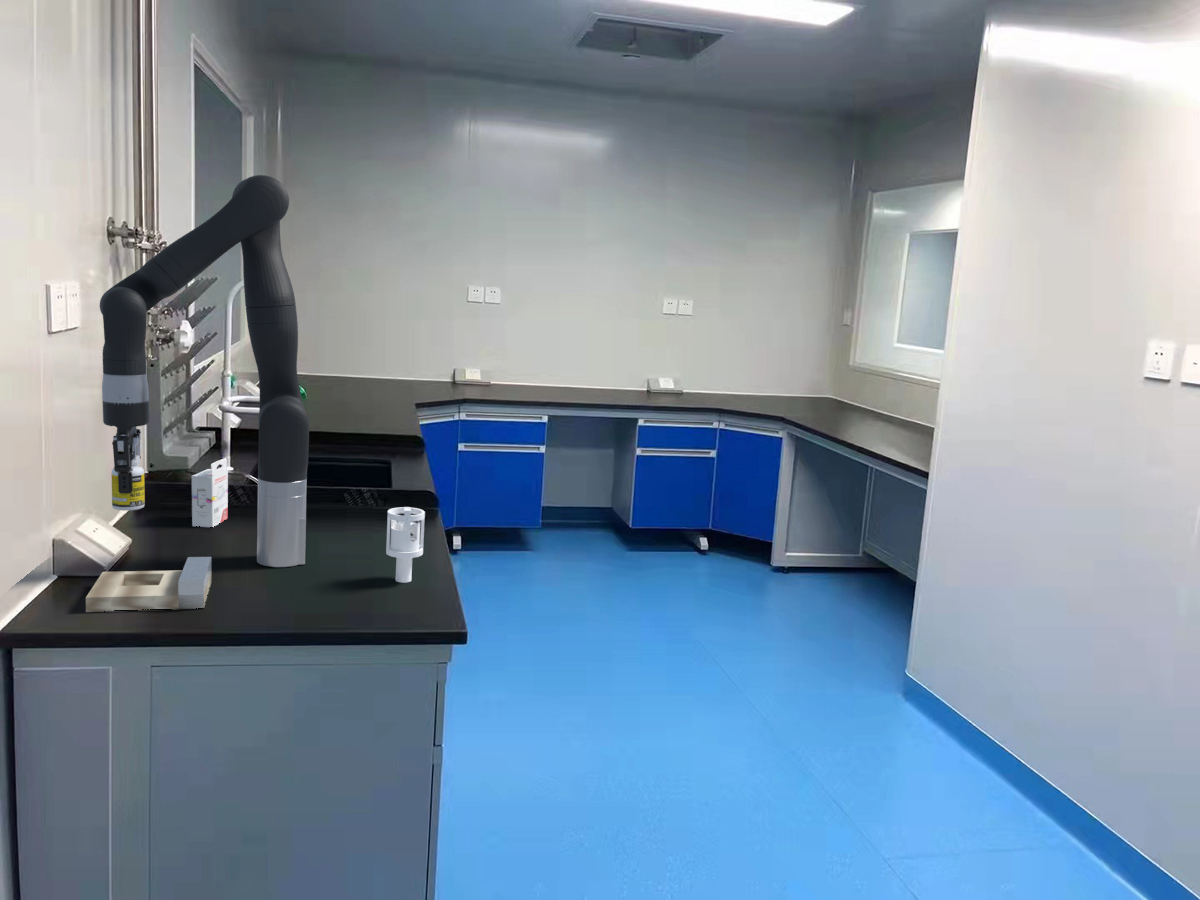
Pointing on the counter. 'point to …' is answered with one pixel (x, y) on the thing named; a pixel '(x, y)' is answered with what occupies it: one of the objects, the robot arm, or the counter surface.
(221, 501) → the ink cartridge box
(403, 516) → the strainer
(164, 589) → the jig
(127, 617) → the counter surface
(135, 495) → the supplement bottle
